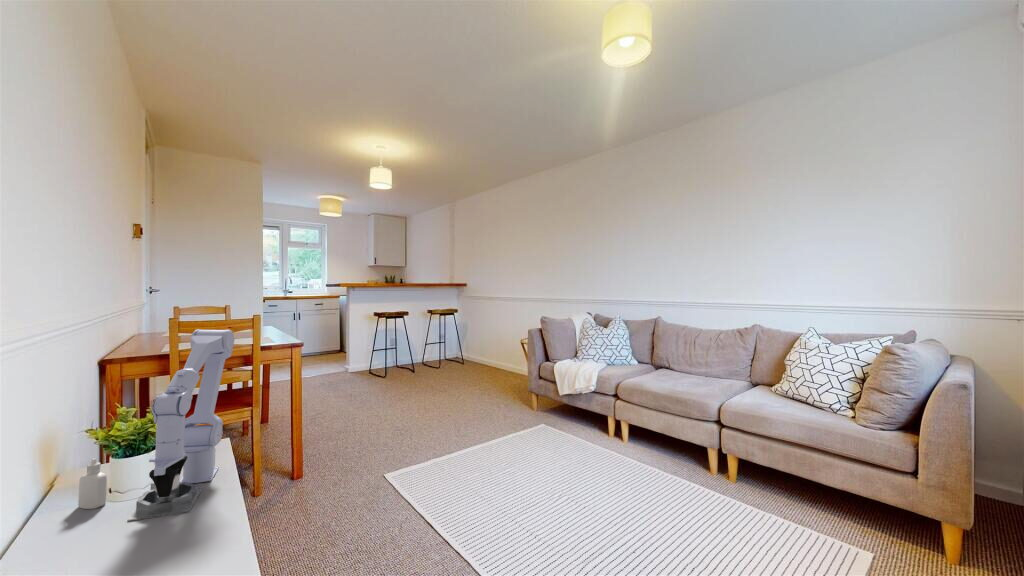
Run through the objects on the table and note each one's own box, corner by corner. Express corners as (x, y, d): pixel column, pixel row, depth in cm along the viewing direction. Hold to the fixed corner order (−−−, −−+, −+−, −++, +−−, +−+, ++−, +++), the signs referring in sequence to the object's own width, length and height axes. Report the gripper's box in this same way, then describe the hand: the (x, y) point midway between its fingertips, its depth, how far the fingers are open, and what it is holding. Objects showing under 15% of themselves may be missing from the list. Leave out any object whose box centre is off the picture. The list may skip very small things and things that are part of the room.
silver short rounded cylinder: (181, 491, 108) (182, 471, 108) (174, 500, 104) (175, 479, 104) (154, 495, 106) (155, 474, 106) (146, 504, 102) (147, 482, 102)
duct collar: (147, 497, 108) (147, 486, 108) (202, 490, 113) (202, 479, 113) (127, 521, 97) (127, 509, 97) (189, 511, 102) (189, 500, 102)
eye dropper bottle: (100, 498, 107) (102, 453, 107) (107, 505, 104) (109, 458, 104) (76, 506, 103) (79, 458, 103) (82, 513, 100) (84, 464, 100)
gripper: (161, 431, 110) (159, 481, 110) (138, 451, 97) (136, 508, 97) (193, 429, 113) (191, 477, 113) (175, 448, 100) (173, 503, 100)
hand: (168, 491), depth 105 cm, fingers closed on silver short rounded cylinder, 5 cm apart
